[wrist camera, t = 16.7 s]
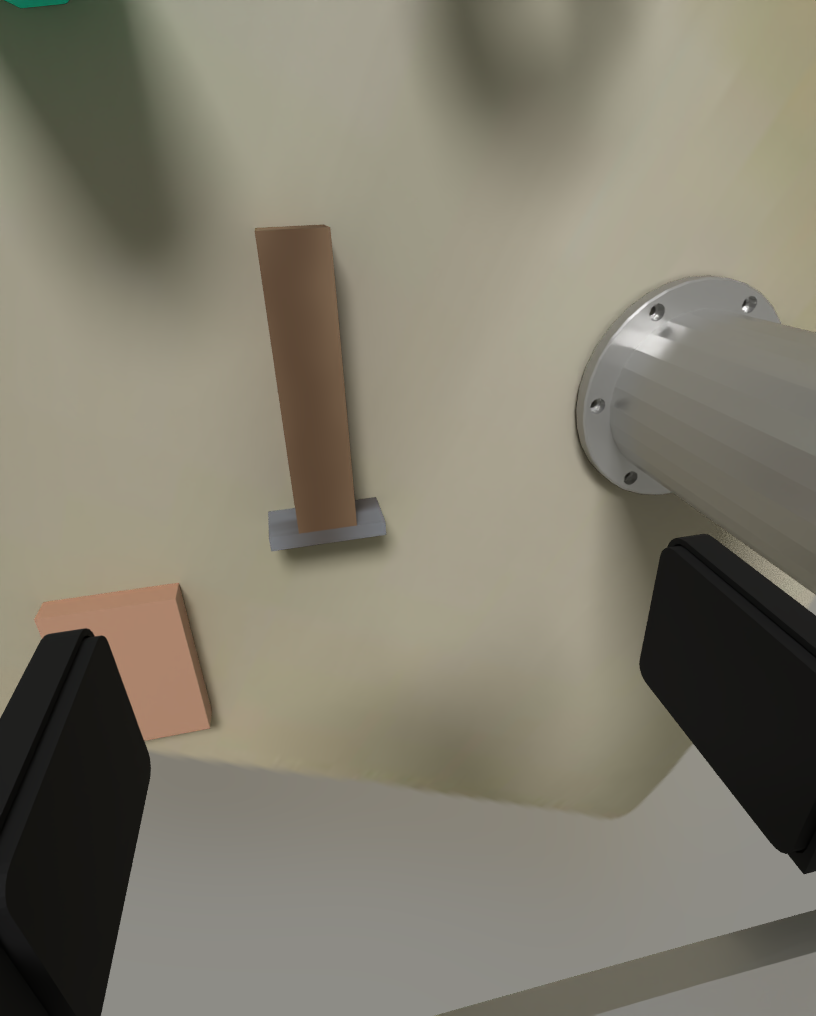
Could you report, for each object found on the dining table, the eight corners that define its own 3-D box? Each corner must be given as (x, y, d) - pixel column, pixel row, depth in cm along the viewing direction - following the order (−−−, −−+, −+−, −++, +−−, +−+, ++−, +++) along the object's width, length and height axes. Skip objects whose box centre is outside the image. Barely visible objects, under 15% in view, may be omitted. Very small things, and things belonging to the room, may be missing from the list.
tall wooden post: (356, 222, 27) (366, 225, 24) (376, 508, 34) (386, 534, 31) (220, 229, 26) (215, 233, 23) (270, 523, 33) (271, 551, 30)
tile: (175, 599, 32) (209, 728, 36) (179, 578, 33) (212, 704, 38) (34, 619, 30) (89, 751, 35) (46, 596, 32) (97, 725, 37)
